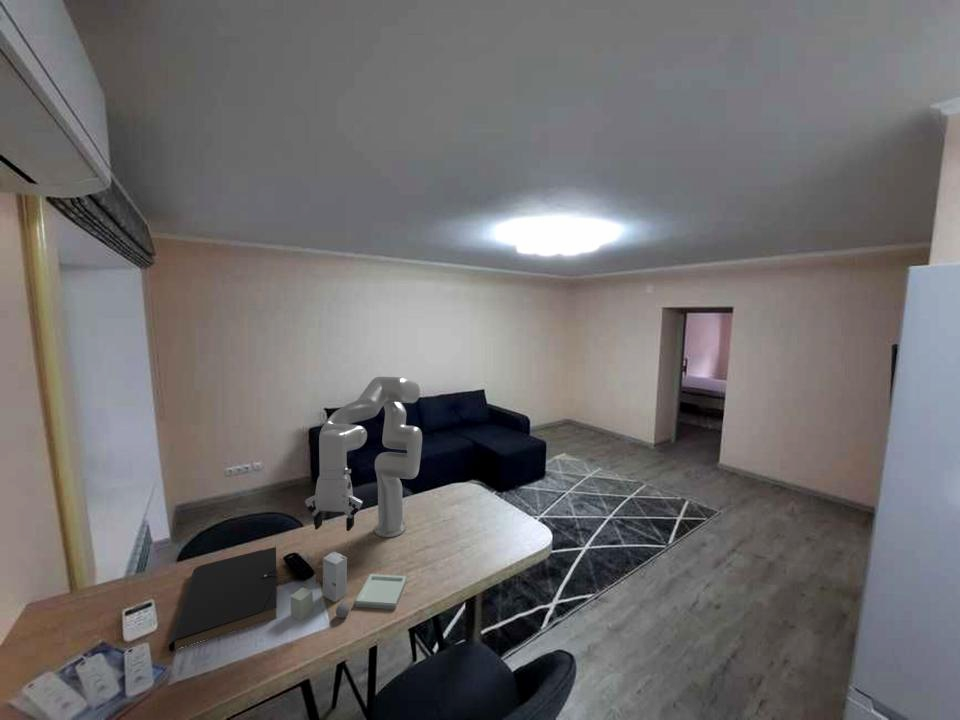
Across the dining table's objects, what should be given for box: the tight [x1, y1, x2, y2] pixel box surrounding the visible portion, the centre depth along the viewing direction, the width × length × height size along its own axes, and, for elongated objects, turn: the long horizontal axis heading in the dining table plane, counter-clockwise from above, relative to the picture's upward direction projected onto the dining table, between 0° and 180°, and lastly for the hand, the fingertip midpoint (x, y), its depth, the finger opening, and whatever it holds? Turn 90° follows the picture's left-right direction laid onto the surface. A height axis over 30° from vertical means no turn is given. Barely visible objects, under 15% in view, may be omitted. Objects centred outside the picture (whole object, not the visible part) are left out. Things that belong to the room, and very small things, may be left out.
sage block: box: [289, 587, 314, 622], centre depth 107 cm, size 4×4×6 cm
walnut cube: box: [315, 557, 324, 583], centre depth 123 cm, size 5×5×5 cm
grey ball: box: [335, 602, 350, 619], centre depth 107 cm, size 4×4×4 cm
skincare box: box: [322, 551, 348, 603], centre depth 115 cm, size 6×4×12 cm
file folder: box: [168, 546, 279, 653], centre depth 115 cm, size 33×4×24 cm
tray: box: [354, 573, 408, 610], centre depth 116 cm, size 12×12×2 cm
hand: (334, 528), depth 113 cm, fingers open, 9 cm apart
